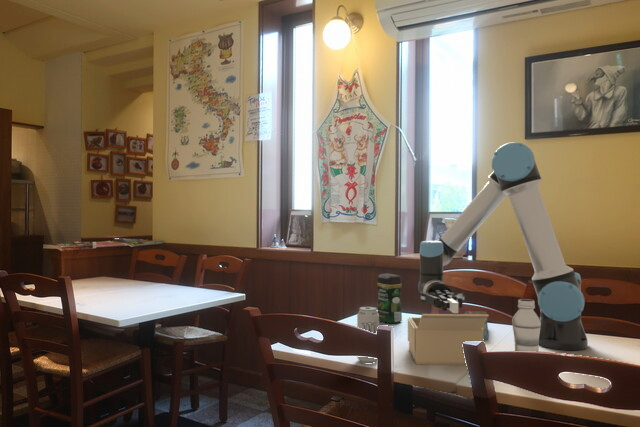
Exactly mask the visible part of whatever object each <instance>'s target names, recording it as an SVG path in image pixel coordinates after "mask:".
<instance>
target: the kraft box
mask: <svg viewBox="0 0 640 427" xmlns="http://www.w3.org/2000/svg"><path fill="white" fill-rule="evenodd" d="M420 319H421V317H408V318H407V341H408V350H409V353H410V355H411V357H412V359H413V361H414V363H415V365H419V366H420V365H429V366H430V365H431V366H435V365H436V366H440V365H441V366H467V365H466V363H465V358H464V353H463V347H462V344H463V342H465V341H483V342H484V340H483V328H482V329H481V330H418V326H419V323H420Z"/></svg>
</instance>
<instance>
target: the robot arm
mask: <svg viewBox="0 0 640 427" xmlns="http://www.w3.org/2000/svg"><path fill="white" fill-rule="evenodd" d="M491 169H492V171H491V173H490V174H489V175H488V176H487V178H488V182H487V183H486V184H485V185H484V186H483V187H482V189H481V190H480V191H479V192H478V193H477V194H476V196H475V197H473V199H472V200H471V201H470V203H469V204H468V205H467V206H466V207H465V209H464V210H463V211H462V212H461V213H460V215H458V217H457V218H456V219H455V221H454V222H453V223H451V225H450V226H449V228H447V230H446V231H444V233H443V234H442V235H441V236H440V238H439V239H438V240H423V241H421V242H420V244H419V281H418V284H417V287H418V288H417V289H418V292H419V294H420V302H421V303H425V304H428V305H430V306H432V307H434V308H439V309H442V311H444V312H445V311H447V310H448V311H449V312H451V314H459V309H462V308H463V303H465V296H466V295H465V293H464V292H460V293H457V294H456V293H455V292H453V291H452V289H451V288H450V286H449V285H447V283H445V282H444V267H445V266H448V265H449V264H450V263H451V262H452V260H453V258H454V257H455V255H456V254H458V252H459V251H460V250H461V249H462V247H463V246H464V245H465V244H466V243H467V242H468V241H469V240H470V238H471V237H472V236H473V235H474V234H475V233H476V232H477V231H478V229H479V228H480V227H481V226H482V225H483V223H485V221H486V220H487V219H488V218H489V217H490V216H491V214H493V212H494V211H495V210H496V209H497V208H498V207H499V205H501V204H502V202H503V201H504V200H505V198H506V197H507V196H508V197H509V199H510V204H511V207H512V209H513V212H514V214H515V217H516V220H517V223H518V227H519V229H520V233H521V235H522V239H523V241H524V245H525V247H526V249H527V253H528V255H529V259H530V262H531V265H532V268H533V271H534V273H533V275H532V277H531V282H532V285H533V287H534V290H535V294H536V296H537V304H538V308H539V312H540V313H539V315H540V316H539V319H540V322H541V327H540V335H539V345H538V346H542V347H544V348H545V347H546V348H549V349H553V348H554V350H561V349H566V350H565V351H582V350H586V349H588V348H589V346H588V344H589V343H588V342H589V341H588V337H587V334H586V332H585V329H584V326H583V323H582V312H583V311H584V308H585V305H586V301H585V300H586V299H585V296H584V294H583V292H582V278H581V274H580V273H578V272H575V270H574V268H572V267H570V266H568V265H567V264H566V263H565V259H564V256H563V253H562V250H561V247H560V245H559V242H558V239H557V236H556V234H555V230H554V227H553V224H552V222H551V219H550V215H549V213H548V211H547V207H546V206H545V202H544V200H543V196H542V194H541V191H540V185H541V183H542V180H543V179H542V177H541V174H540V171H539V168H538V166H537V163H536V160H535V155H534V152H533V151H532V149H531V148H530V147H528V145H526V144H523V143H520V142H516V141H515V142H514V141H513V142H508V143H505V144H503V145H501V146H499V147H498V148H497V149H496V150H495V152H494V153H493V156H492V159H491ZM585 348H586V349H585Z"/></svg>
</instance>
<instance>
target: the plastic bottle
mask: <svg viewBox="0 0 640 427" xmlns="http://www.w3.org/2000/svg"><path fill="white" fill-rule="evenodd" d="M517 308H518V310H517V311H516V312H515V314H514V315H513V317H512V319H511V324H512V331H513V338H514V352H515V351H536V352H539V353H540V351H539V349H540V348H539V346H540V345H539V335H540V327H541V322H540V316H538V314H537V313H536V311H535V310H534V309H536V304H535V300H534V299H528V298H527V299H525V298H520V299H518V300H517Z"/></svg>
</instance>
